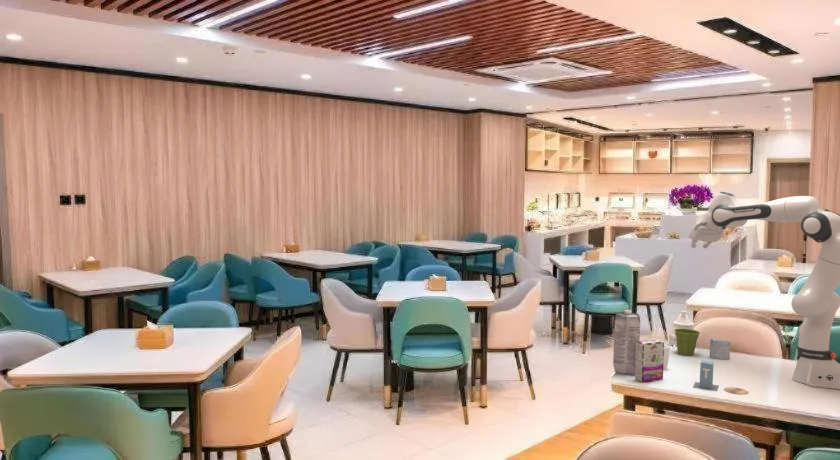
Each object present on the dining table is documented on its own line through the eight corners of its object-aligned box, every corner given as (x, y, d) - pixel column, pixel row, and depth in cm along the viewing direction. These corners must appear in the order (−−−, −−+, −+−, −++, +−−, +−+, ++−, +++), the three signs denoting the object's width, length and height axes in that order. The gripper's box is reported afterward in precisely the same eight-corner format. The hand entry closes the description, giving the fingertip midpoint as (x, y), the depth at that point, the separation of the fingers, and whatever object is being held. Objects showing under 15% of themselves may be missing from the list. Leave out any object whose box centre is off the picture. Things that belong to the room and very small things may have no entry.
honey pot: (695, 349, 327) (697, 314, 326) (668, 346, 332) (670, 311, 331) (695, 343, 339) (696, 309, 338) (668, 341, 344) (670, 307, 343)
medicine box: (726, 357, 313) (727, 339, 312) (729, 359, 308) (730, 341, 308) (709, 356, 314) (710, 338, 313) (712, 359, 309) (713, 341, 309)
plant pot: (697, 358, 310) (698, 334, 309) (671, 354, 316) (672, 331, 315) (700, 353, 320) (701, 330, 320) (675, 349, 326) (676, 327, 325)
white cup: (650, 370, 288) (651, 347, 287) (649, 365, 296) (649, 343, 295) (669, 371, 286) (670, 349, 286) (667, 366, 294) (668, 345, 293)
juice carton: (638, 376, 278) (640, 313, 276) (612, 373, 281) (614, 311, 279) (638, 370, 286) (640, 310, 284) (613, 368, 290) (615, 308, 288)
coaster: (749, 390, 261) (749, 389, 261) (748, 396, 253) (748, 395, 253) (724, 386, 265) (724, 386, 265) (722, 392, 257) (722, 391, 257)
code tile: (719, 386, 266) (719, 385, 266) (717, 392, 258) (717, 391, 258) (695, 382, 270) (695, 381, 270) (692, 388, 262) (692, 387, 262)
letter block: (712, 385, 265) (713, 361, 264) (711, 388, 261) (712, 364, 260) (700, 384, 267) (701, 360, 267) (699, 387, 263) (700, 362, 263)
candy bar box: (654, 376, 277) (656, 339, 276) (663, 380, 273) (665, 341, 272) (633, 379, 273) (635, 340, 272) (642, 382, 269) (643, 343, 268)
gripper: (703, 225, 305) (690, 250, 310) (729, 226, 316) (716, 251, 321) (693, 218, 309) (680, 243, 315) (719, 220, 320) (706, 244, 326)
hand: (698, 247), depth 318 cm, fingers open, 8 cm apart
